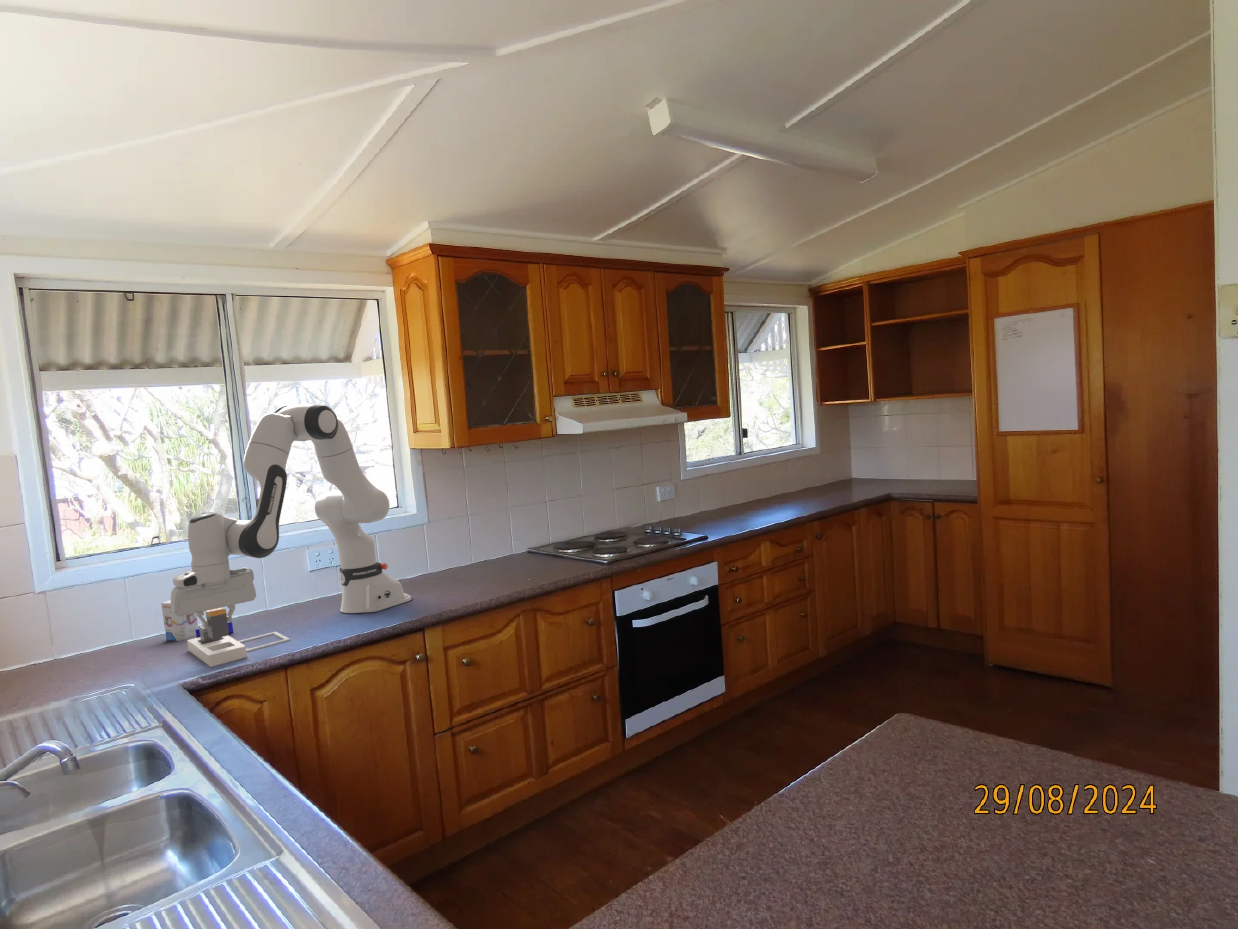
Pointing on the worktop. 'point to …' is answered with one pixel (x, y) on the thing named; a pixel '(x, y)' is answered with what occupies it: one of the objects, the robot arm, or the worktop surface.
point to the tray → (266, 644)
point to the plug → (217, 623)
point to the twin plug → (206, 636)
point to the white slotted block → (217, 650)
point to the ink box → (178, 624)
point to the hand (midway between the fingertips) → (217, 624)
